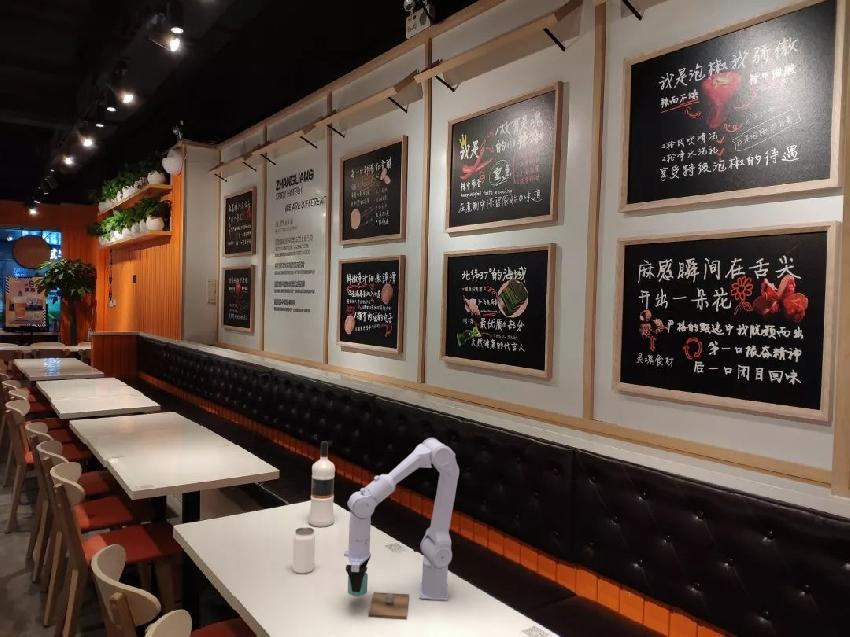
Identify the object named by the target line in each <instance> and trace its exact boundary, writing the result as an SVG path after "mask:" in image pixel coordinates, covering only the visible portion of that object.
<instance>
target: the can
mask: <svg viewBox="0 0 850 637" xmlns="http://www.w3.org/2000/svg"><path fill="white" fill-rule="evenodd" d="M294 531H295V533H294V534H293V541H292V542H293V544H292V546H293V547H292V548H293V549H292V567H291V568H292V571H293V572H294V573H296V574H299V575H303V574H310V573H311V572H313V570H314V568H315V553H316V552H315V550H316V534H315V530H314V528H312V527H309V526H308V527H305V526H304V527H298V528H296V530H294Z"/></svg>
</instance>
